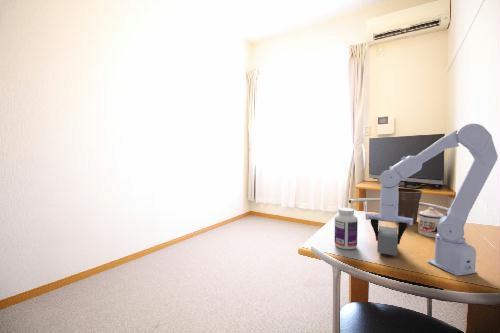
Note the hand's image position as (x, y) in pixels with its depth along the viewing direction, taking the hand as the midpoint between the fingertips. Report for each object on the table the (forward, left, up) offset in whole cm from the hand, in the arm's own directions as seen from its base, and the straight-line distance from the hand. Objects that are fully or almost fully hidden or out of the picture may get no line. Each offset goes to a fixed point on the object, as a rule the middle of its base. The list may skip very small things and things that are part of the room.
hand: (387, 241), depth 89 cm
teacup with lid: (+9, -33, -4) cm, 34 cm away
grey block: (0, 0, -2) cm, 2 cm away
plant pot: (+30, -38, -4) cm, 49 cm away
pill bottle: (+9, +11, -4) cm, 15 cm away
